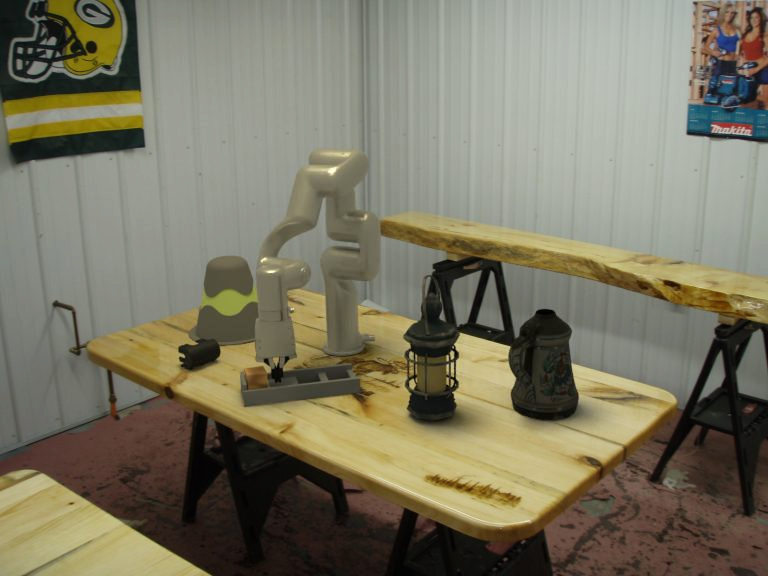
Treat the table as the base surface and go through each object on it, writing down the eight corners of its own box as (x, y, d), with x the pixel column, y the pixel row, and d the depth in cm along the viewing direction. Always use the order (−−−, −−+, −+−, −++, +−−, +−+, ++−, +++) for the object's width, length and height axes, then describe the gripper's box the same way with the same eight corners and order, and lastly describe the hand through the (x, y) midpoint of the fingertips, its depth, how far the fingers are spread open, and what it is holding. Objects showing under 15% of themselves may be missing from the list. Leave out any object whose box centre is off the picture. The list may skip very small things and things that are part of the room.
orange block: (264, 383, 205) (263, 365, 204) (268, 390, 201) (266, 372, 199) (245, 386, 204) (244, 368, 202) (248, 393, 199) (247, 375, 198)
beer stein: (583, 398, 198) (589, 304, 191) (568, 431, 181) (573, 329, 174) (519, 388, 205) (522, 297, 198) (499, 419, 188) (501, 321, 181)
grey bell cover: (170, 335, 250) (162, 262, 243) (233, 311, 272) (228, 244, 265) (232, 352, 235) (225, 275, 228) (293, 325, 256) (289, 254, 250)
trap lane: (351, 376, 215) (351, 357, 213) (360, 392, 204) (359, 373, 203) (241, 389, 208) (239, 370, 206) (244, 406, 198) (242, 386, 196)
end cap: (193, 373, 220) (191, 350, 218) (178, 367, 224) (176, 345, 222) (222, 362, 227) (220, 340, 225) (206, 356, 231) (205, 335, 229)
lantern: (452, 430, 183) (452, 286, 173) (397, 423, 187) (395, 283, 177) (464, 404, 196) (465, 270, 186) (413, 399, 200) (411, 267, 190)
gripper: (300, 306, 204) (304, 372, 209) (242, 312, 200) (247, 378, 205) (304, 315, 197) (308, 383, 202) (244, 321, 193) (249, 389, 199)
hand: (277, 380), depth 204 cm, fingers closed
